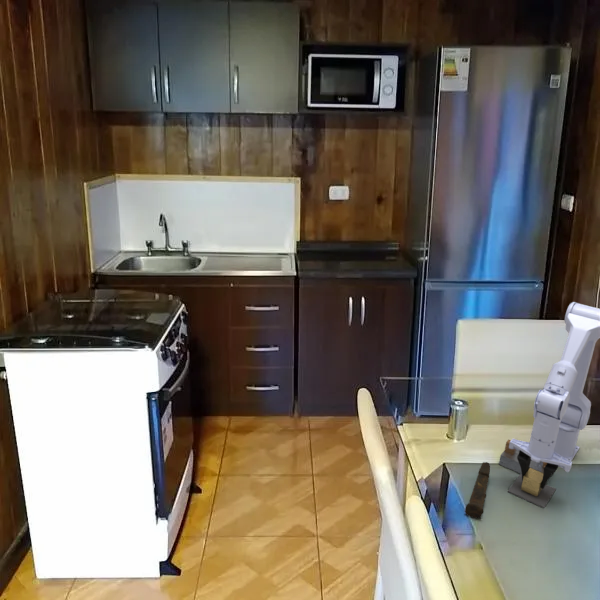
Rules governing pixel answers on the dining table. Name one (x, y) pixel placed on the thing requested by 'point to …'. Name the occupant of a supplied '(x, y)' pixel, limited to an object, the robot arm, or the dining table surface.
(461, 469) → the dining table surface
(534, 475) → the tan cube
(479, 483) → the hand tool
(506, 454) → the body
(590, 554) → the dining table surface
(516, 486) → the mat
